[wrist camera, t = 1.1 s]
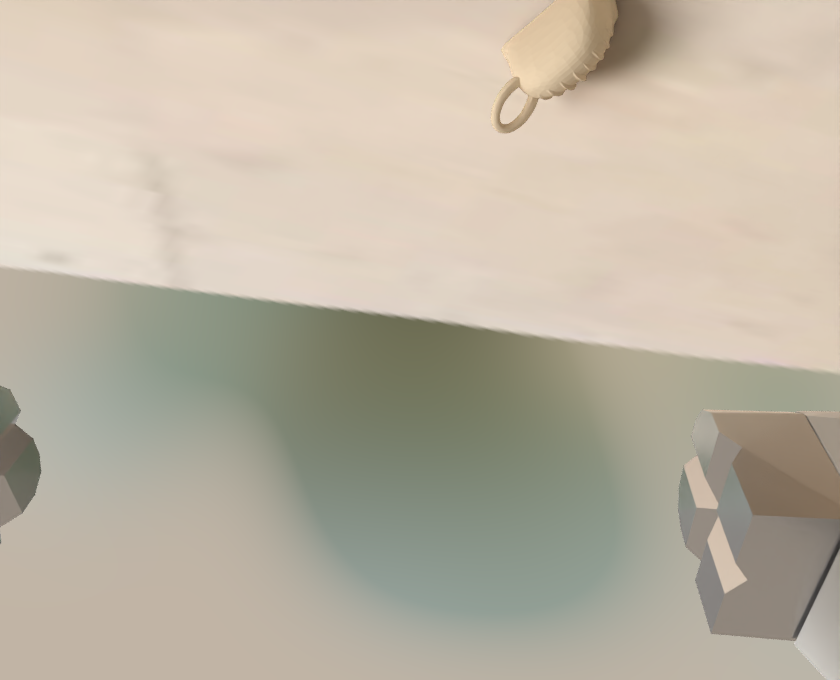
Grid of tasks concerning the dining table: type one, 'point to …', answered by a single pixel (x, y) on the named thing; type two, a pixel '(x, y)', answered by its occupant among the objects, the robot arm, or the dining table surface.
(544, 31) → the decorative ornament
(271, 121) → the dining table surface
